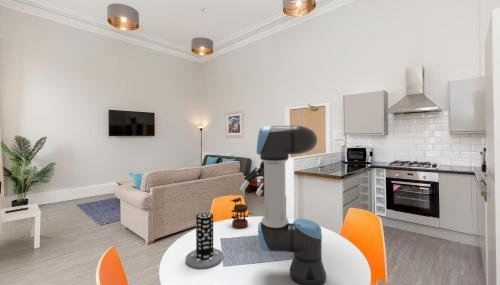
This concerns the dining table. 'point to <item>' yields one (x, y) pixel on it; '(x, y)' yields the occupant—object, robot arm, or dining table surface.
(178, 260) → the dining table surface
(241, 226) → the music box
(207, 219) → the white-spotted black cylinder
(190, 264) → the stub plate
